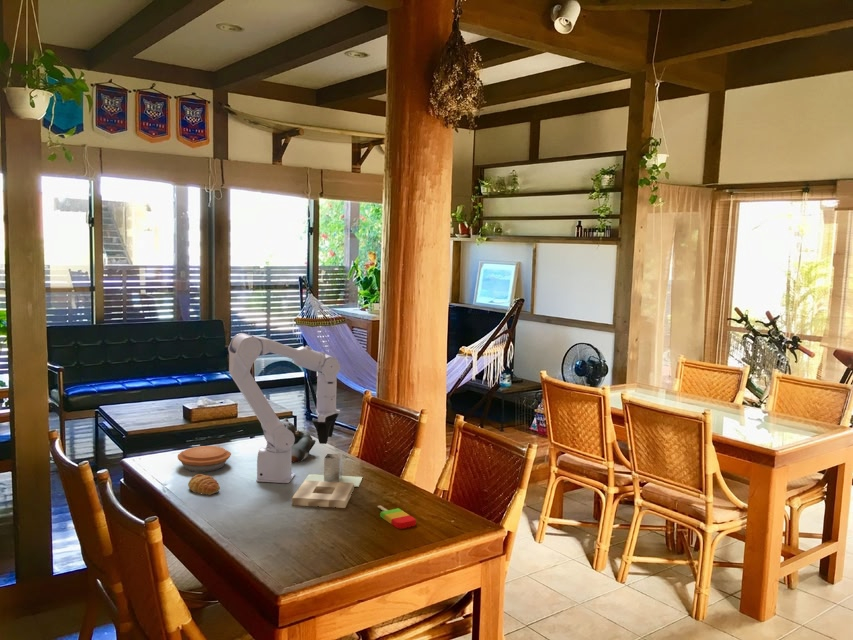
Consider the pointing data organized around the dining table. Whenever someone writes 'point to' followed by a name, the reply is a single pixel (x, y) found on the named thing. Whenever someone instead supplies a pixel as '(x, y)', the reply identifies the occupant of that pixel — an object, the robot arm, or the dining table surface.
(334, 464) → the block
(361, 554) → the dining table surface
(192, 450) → the pie
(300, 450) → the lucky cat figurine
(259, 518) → the dining table surface
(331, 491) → the pocket board
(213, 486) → the pastry
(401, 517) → the popsicle
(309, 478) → the mat
